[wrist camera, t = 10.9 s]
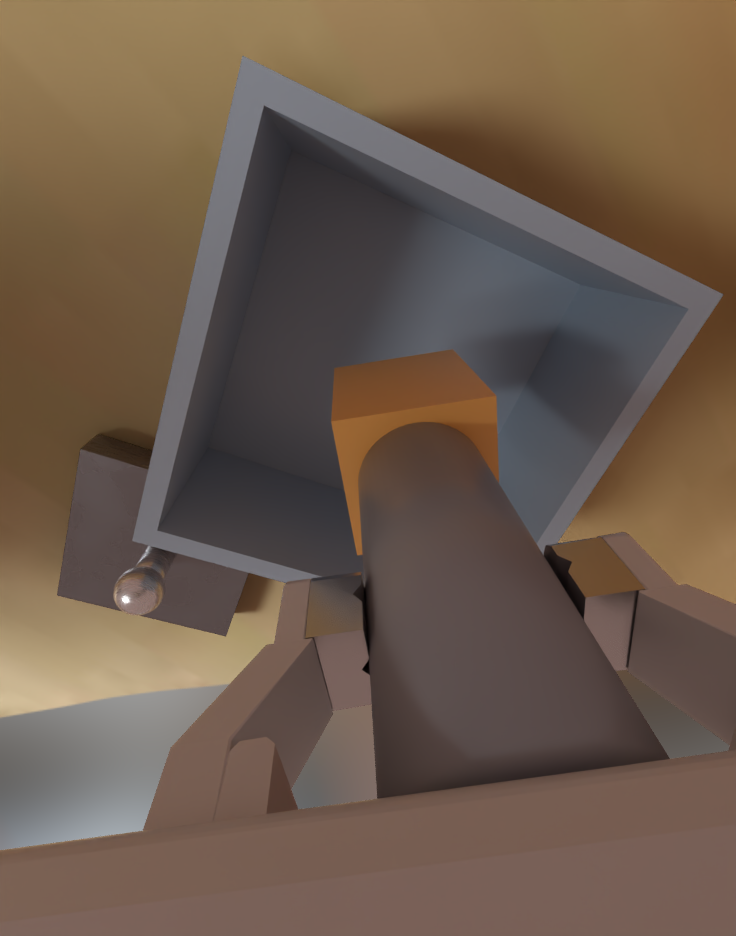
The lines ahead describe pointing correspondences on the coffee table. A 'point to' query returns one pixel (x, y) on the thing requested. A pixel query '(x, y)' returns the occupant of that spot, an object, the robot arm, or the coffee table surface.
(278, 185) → the bin
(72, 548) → the ball stud base
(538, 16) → the coffee table surface
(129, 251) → the coffee table surface
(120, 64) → the coffee table surface
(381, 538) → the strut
